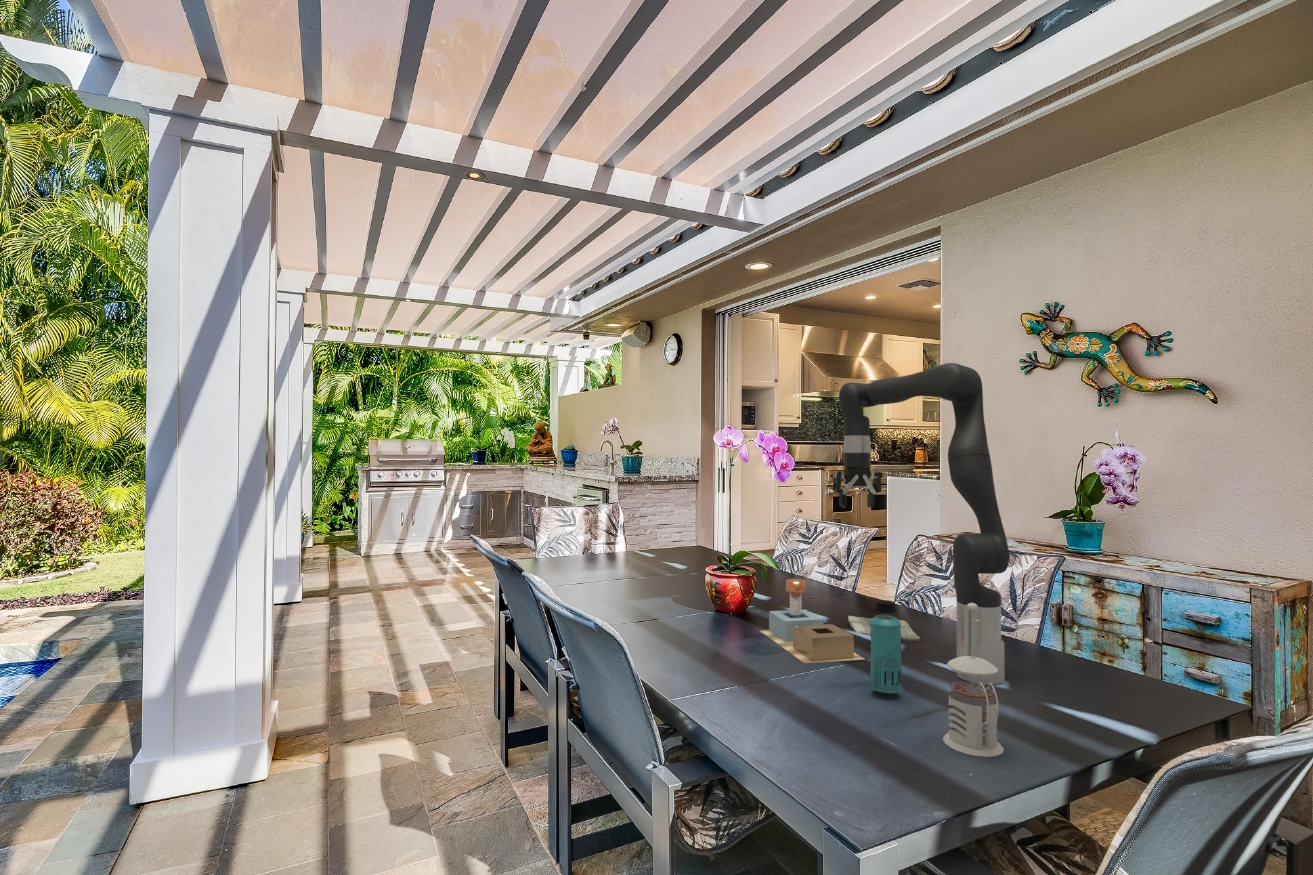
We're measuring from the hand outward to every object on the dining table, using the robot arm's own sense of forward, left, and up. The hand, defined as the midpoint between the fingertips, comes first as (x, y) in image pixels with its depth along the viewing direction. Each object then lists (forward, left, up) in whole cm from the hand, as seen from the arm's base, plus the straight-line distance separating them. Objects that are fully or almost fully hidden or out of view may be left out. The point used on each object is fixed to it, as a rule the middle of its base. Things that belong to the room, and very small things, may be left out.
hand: (857, 507), depth 187 cm
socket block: (-4, +21, -35) cm, 41 cm away
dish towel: (0, -8, -37) cm, 38 cm away
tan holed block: (-20, +21, -35) cm, 45 cm away
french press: (-70, +17, -36) cm, 81 cm away
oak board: (-12, +21, -36) cm, 43 cm away
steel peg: (-4, +21, -35) cm, 41 cm away
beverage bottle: (-45, +19, -36) cm, 61 cm away
